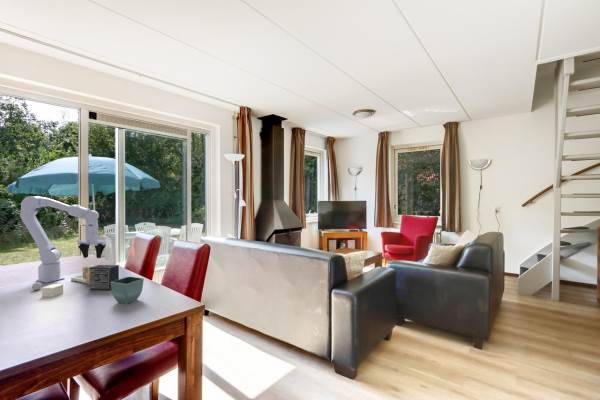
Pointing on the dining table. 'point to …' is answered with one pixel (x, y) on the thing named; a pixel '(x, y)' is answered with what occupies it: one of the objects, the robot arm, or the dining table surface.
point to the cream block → (52, 290)
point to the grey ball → (37, 286)
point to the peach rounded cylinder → (88, 279)
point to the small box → (103, 276)
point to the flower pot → (127, 289)
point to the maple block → (86, 271)
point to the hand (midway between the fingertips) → (92, 257)
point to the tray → (79, 279)
